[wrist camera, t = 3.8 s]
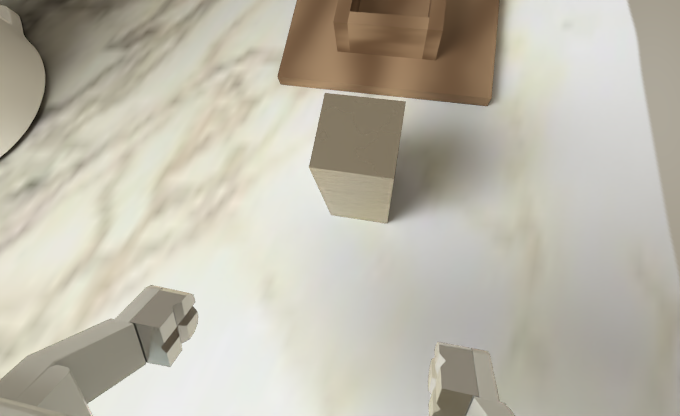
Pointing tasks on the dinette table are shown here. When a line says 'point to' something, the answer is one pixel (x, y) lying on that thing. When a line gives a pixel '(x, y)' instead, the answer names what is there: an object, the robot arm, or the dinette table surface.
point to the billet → (357, 155)
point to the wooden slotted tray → (394, 48)
